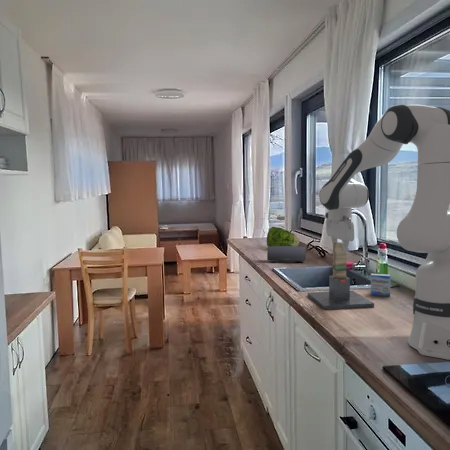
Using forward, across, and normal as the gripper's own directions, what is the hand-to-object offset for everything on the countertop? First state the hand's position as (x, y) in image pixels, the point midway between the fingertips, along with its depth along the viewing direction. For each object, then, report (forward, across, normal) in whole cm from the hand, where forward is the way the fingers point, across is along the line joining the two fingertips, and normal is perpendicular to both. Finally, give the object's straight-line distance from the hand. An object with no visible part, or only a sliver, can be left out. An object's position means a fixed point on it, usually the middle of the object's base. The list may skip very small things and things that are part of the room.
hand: (339, 249), depth 171 cm
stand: (+21, 0, 0) cm, 21 cm away
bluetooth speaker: (+21, +88, -2) cm, 90 cm away
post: (+13, 0, 0) cm, 13 cm away
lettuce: (+21, +135, -12) cm, 137 cm away
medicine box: (+21, +8, -21) cm, 31 cm away
